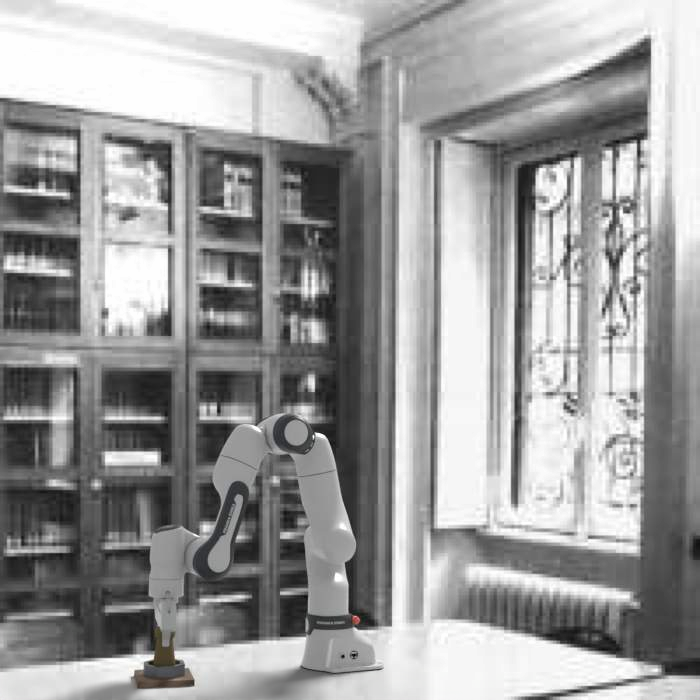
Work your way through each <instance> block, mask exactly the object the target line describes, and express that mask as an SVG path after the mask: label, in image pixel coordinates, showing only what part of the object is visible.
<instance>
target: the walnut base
mask: <svg viewBox="0 0 700 700" xmlns="http://www.w3.org/2000/svg"><path fill="white" fill-rule="evenodd" d="M133 672H134V673H133V677H134V680H135V684H136V687H137V689H152V688H153V689H155V688H178V687H193V686H194V687H195V678H194V676H193V673H192V671H191V669H190V668H189V667H185V676H182V677H179V678H175V679H151V678H145V677H144V674H143V669H134V671H133Z"/></svg>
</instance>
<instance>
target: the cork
mask: <svg viewBox="0 0 700 700" xmlns="http://www.w3.org/2000/svg"><path fill="white" fill-rule="evenodd" d="M154 636H155V638H156V642H155V650H154V655H153V659H154V660H153V659H152V660H153V665H154V666H173V665H176V664H175V659H176V655H175V646H174V645H175V644H174V643H175V642H174V638H175V636H176V630H175V632H171V635H170V641H169V646H168V647H163V646H162V631H161V629H160V627H159V625H158V626H157V627H156V628H155V630H154Z"/></svg>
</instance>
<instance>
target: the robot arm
mask: <svg viewBox="0 0 700 700" xmlns="http://www.w3.org/2000/svg"><path fill="white" fill-rule="evenodd" d="M267 455H277V456H280V455H282V456H283V455H289V456H290V457H291V458H292V459H293V463H294V465H295V471H296V476H297V481H298V487H299V494H300V499H301V504H302V507H303V509H304V512H305V515H306V518H307V522H308V524H309V526H308V527H307V528H306V530H305V532H304V534H303V535H304V536H303V543H304V550H305V563H306V572H307V573H306V574H307V589H308V592H307V593H308V595H307V596H308V597H307V599H308V600H307V612H306V616H305V634H306V637H305V638H306V640H305V647H304V652H303V657H302V660H301V662H300V666H301V667H303V668H306V669H309V670H314V671H322V672H326V673H327V672H328V673H333V674H335V673H337V674H338V673H348V672H359V671H371V670H380V669H383V668H384V662H383V660H382V659H380V658H378V657H377V656H376V649H375V647H374V644H373V642H372V641H371V639H369V637H367V636H366V635H365V634H364V633H363V632H361V631H360V630H359V629H358V628H356V627H355V625H359V623H360V622H361V619H360V618H359V616H357V615H353V614H352V613H350V612H349V581H348V577H347V572H346V571H347V570H346V564H345V563H346V562H349V561H350V560H351V559H352V558H353V556H354V555H355V553H356V549H357V541H356V538H355V536H354V534H353V533H354V532H353V529H352V527H351V526H352V525H351V523H350V520H349V519H350V518H349V516H348V513H347V510H346V507H345V504H344V501H343V497H342V491H341V487H340V486H341V485H340V480H339V475H338V469H337V464H336V459H335V455H334V453H333V449H332V447H331V444H330V441H329V439H328V438H327V437H326V435H325V434H322V433H319V432H315V431H314V430H313V428H312V427H311V425H310V423H309V422H308V421H307V419H306V418H305V417H303V416H302V415H300V414H297V413H292V412H291V413H290V412H288V413H277V414H275V415H270V416H266V417H265V418H262V419H261V420H260V421H259V422H257V423H256V424H255V425H254V424H251V423H249V424H248V423H242V424H240V425H237V426H236V427H235V428H234V429H233V430H232V432H231V433H230V436H228V438H227V439H226V442H225V443H224V445H223V448H222V449H221V451H220V453H219V456H218V458H217V460H216V462H215V465H214V467H213V468H214V469H213V474H212V479H211V480H212V482H213V485H214V487H215V490H216V491H217V492H218V494H219V497H220V507H219V508H220V509H219V511H218V514H217V517H216V521H215V523H214V526H213V529H212V532H211V534H210V535H209V537H208V538H207V537H203V536H201V535H198V534H195V533H193V532H191V531H189V530H188V529H186V528H185V527H184V526H183V525H181V524H176V523H175V524H168V525H167V524H166V525H163V526H159V527H158V528H156V529H155V530H153V534H152V537H151V540H150V541H151V542H150V551H149V563H150V573H149V575H148V582H149V583H148V597H150V598H153V602H152V603H153V607H154V618H155V620H156V622H157V625H158V626H159V627H160V629H161V631H162V646H163V647H168V646H169V641H170V635H171V632H175V631H176V628H177V604H178V603H179V598H182V597H184V594H185V592H184V591H185V590H184V589H185V588H184V586H185V574H186V573H190V574H193V575H195V576H198V577H200V578H202V579H203V580H206V581H208V582H217V581H220V580H223V579H224V578H225V577H226V576H227V575H229V573H230V571H231V570H232V567H233V564H234V562H235V561H234V557H235V545H236V540H237V537H238V534H239V532H240V529H241V525H242V523H243V519H244V516H245V513H246V509H247V506H248V502H249V498H250V493H251V490H252V488H253V487H252V486H253V484H254V481H255V479H256V476H257V474H258V471H259V468H260V467H261V464H262V461H263V460H264V458H265V457H266V456H267Z"/></svg>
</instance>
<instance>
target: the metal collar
mask: <svg viewBox="0 0 700 700" xmlns="http://www.w3.org/2000/svg"><path fill="white" fill-rule="evenodd" d="M153 660H154V658H153V659H150V660H145V661H143V669H142V670H143V674H144V677H145V678H151V679H175V678H179V677H182V676H185V668H186V663H185V661H184V659H183V660H182V659H178V658H177V659H176V658H175V664H176V665H173V666H154V665H153Z"/></svg>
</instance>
